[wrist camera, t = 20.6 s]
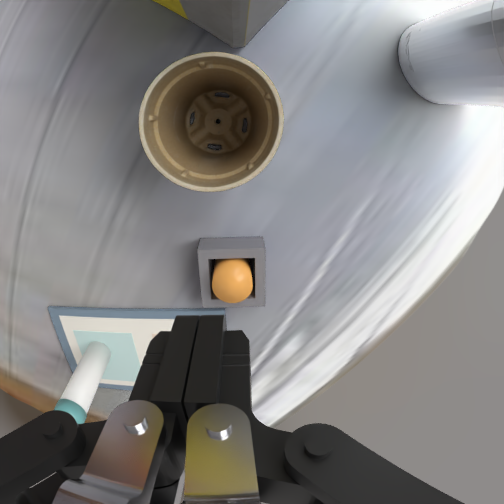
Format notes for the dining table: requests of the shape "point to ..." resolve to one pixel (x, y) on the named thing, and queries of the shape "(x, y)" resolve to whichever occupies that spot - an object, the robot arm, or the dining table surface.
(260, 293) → the button housing
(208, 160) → the flower pot
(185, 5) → the emergency stop button
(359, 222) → the dining table surface
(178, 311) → the placemat
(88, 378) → the marker
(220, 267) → the button
